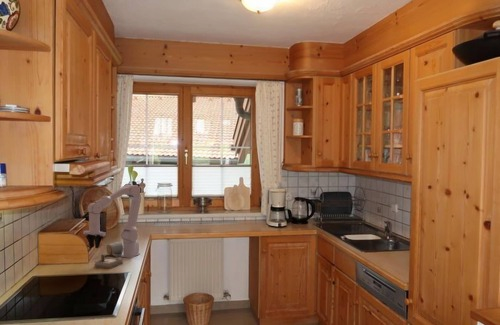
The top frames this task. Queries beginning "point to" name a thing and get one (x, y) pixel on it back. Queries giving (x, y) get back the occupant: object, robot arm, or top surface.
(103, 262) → the dial
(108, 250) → the ceramic mug
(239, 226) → the top surface
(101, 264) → the dial plate
